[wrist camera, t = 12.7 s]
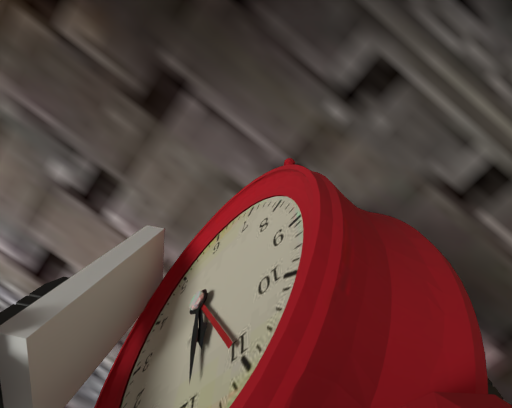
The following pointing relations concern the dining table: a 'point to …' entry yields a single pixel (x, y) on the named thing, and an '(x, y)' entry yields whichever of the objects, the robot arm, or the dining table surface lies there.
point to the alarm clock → (304, 312)
